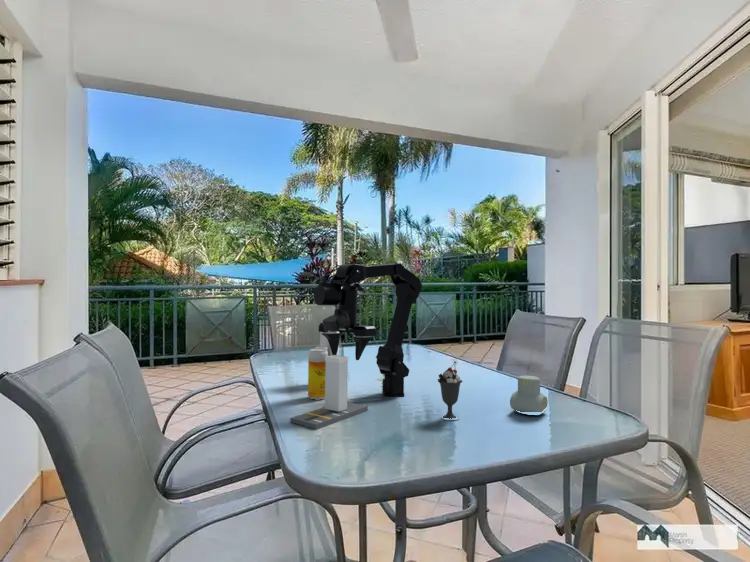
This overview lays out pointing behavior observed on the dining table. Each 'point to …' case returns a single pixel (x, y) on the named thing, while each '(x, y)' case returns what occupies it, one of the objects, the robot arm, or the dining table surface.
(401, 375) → the robot arm
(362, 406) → the console
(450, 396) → the sundae
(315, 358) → the beer can
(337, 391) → the fader tab
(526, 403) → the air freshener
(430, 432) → the dining table surface
